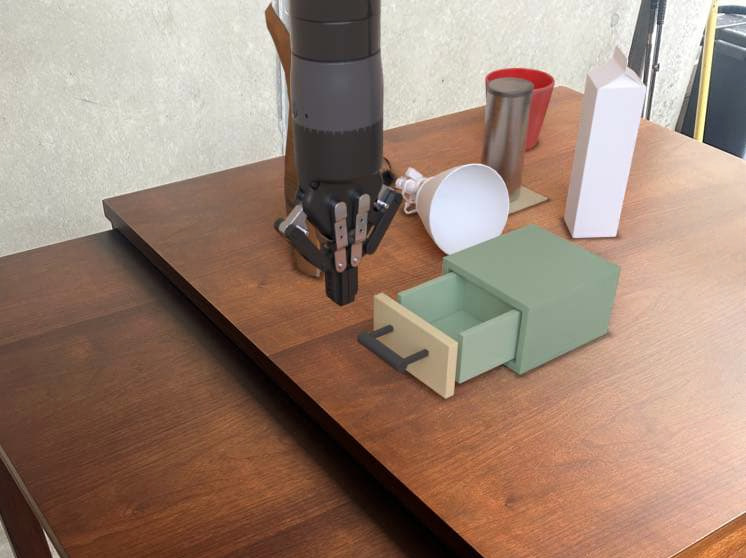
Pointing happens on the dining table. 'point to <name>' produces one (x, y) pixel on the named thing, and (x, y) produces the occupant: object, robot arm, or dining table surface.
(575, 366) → the dining table surface
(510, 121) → the silver tall cylinder
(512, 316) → the drawer
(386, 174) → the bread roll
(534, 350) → the cabinet
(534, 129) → the flower pot
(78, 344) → the dining table surface
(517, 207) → the mat
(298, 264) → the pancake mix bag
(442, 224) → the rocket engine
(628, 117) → the milk
